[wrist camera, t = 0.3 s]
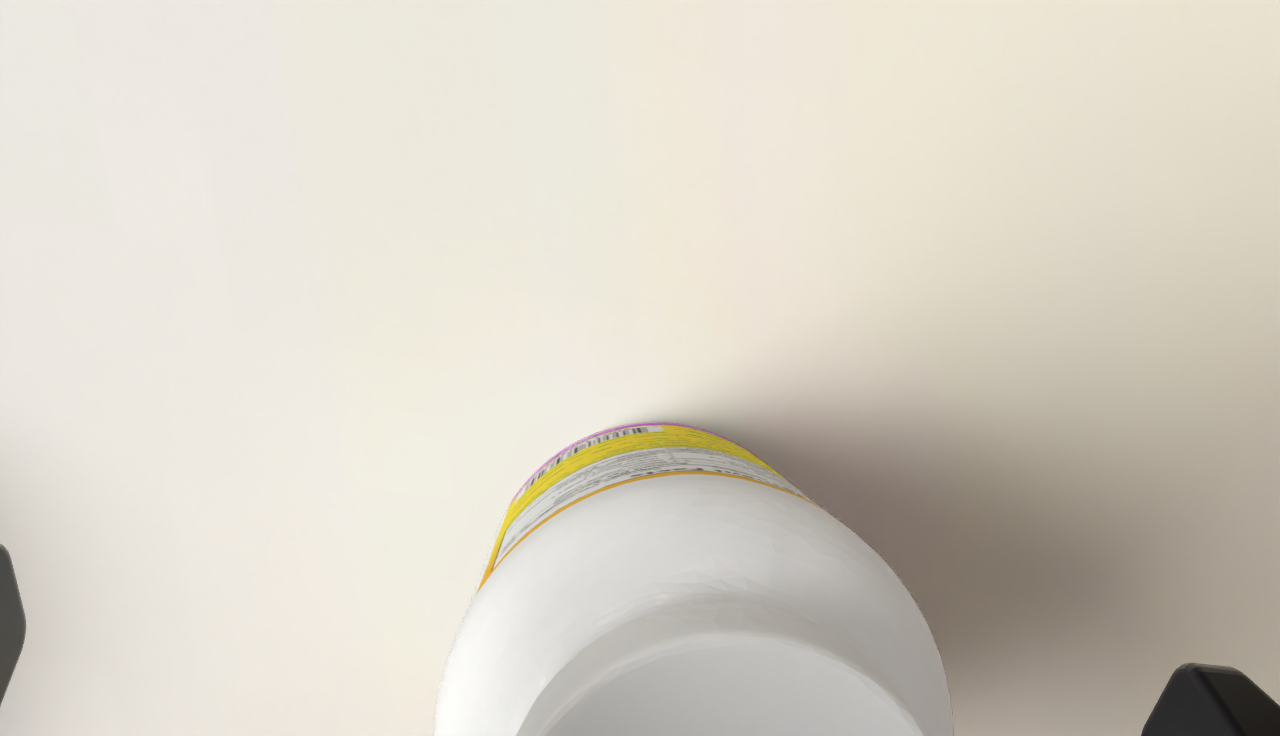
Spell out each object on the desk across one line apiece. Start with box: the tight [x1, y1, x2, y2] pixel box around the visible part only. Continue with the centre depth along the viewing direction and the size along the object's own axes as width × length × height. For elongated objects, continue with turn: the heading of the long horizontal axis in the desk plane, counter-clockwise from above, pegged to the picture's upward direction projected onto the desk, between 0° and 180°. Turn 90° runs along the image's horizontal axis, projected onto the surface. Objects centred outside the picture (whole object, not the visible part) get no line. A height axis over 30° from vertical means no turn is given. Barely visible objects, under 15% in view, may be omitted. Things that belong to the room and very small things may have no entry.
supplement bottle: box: [433, 422, 954, 736], centre depth 18 cm, size 7×7×13 cm
